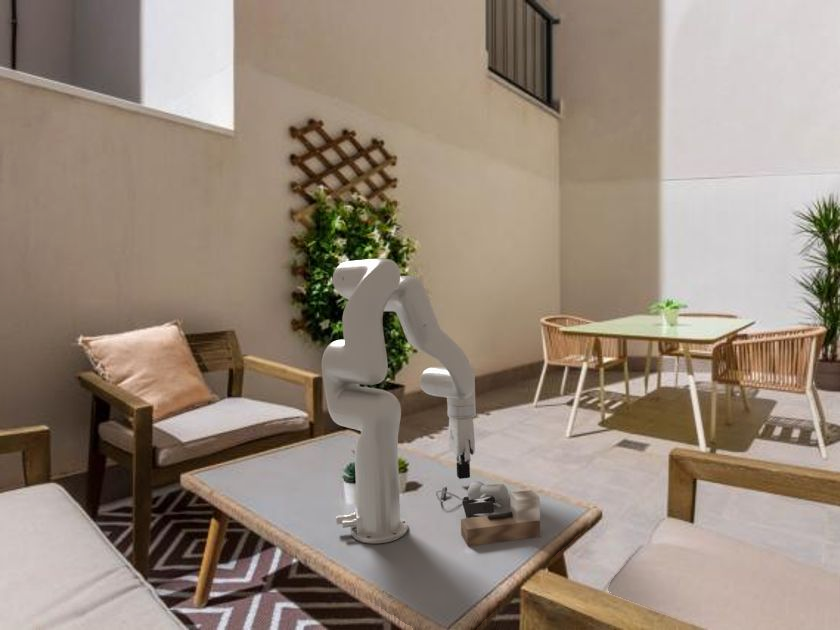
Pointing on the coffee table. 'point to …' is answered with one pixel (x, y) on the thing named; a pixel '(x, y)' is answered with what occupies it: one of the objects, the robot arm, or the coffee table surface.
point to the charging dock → (505, 522)
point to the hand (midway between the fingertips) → (463, 477)
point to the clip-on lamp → (479, 498)
